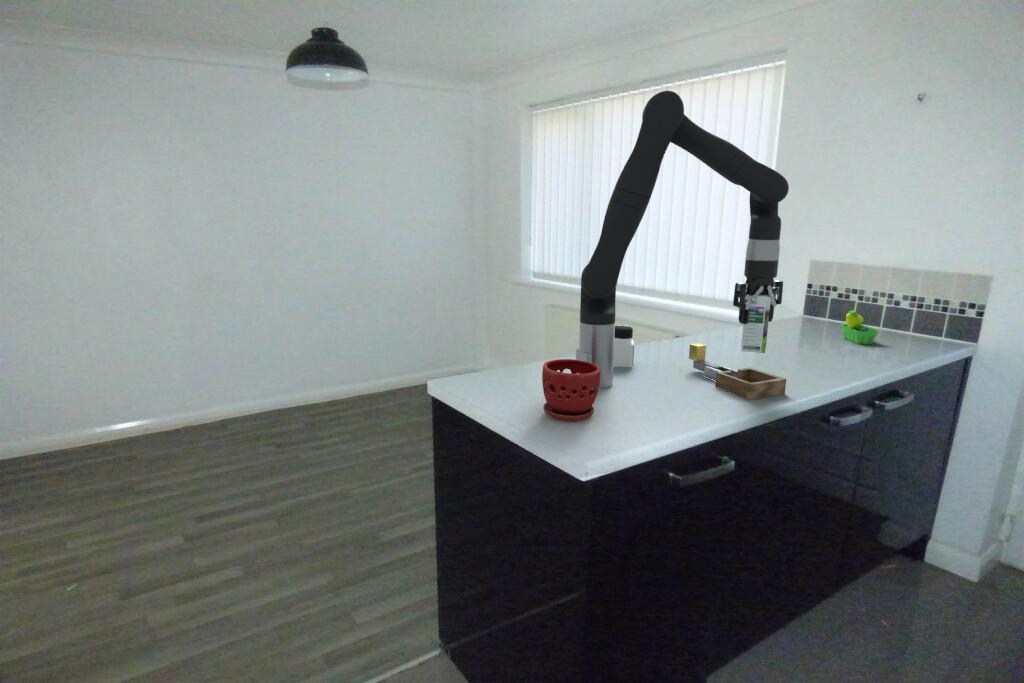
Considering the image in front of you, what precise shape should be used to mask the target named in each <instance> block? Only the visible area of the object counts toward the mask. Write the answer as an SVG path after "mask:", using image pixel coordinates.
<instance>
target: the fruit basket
mask: <svg viewBox="0 0 1024 683" xmlns="http://www.w3.org/2000/svg"><path fill="white" fill-rule="evenodd" d="M863 322H864V317H863V316H861V315H860V314H858V312H857V311H856V310H849V311H848V313H846V315H845V323H843V324H842V323H841V324H840V326H841V329H842V338H843V339H845V340H847V341H850V342H852V343H855V344H857V345H861V344H862V345H872V344H873V343H874V341H875V339H876V337H877V334H878V333H879V330H877V329H875V328H872V327H870V326H868V325H863Z"/></svg>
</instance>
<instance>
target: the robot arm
mask: <svg viewBox="0 0 1024 683" xmlns="http://www.w3.org/2000/svg"><path fill="white" fill-rule="evenodd" d="M641 117H642V118H641V119H642V120H641V121H642V122H641V125H640V129H639V133H638V135H637V139H636V141H635V144H634V147H633V150H632V151H631V153H630V155H629V157H628V159H627V161H626V163H625V164H624V167H623V168H622V170H621V172H620V175H619V177H618V178H617V181H616V183H615V186H614V188H613V191H612V193H611V196H610V199H609V201H608V204H607V208H606V211H605V215H604V218H603V223H602V227H601V232H600V236H599V239H598V243H597V245H596V247H595V249H594V251H593V254H592V256H591V258H590V260H589V262H588V263H587V265H585V267H584V268H583V270H582V272H581V275H580V276H581V277H580V279H581V280H580V304H579V305H580V308H579V309H580V310H579V341H578V342H579V347H578V348H576V350H575V360H581V361H586V362H590V363H593V364H596V365H597V366H599V367H600V369H601V376H600V385H599V390H600V389H607V388H610V387H612V386H613V384H614V383H613V381H614V367H613V360H614V335H615V326H616V298H617V297H616V296H617V295H616V294H617V285H618V281H619V276H620V273H621V269H622V265H623V262H624V259H625V256H626V253H627V251H628V248H629V246H630V243H632V240H633V238H634V237H635V234H636V232H637V231H638V228H639V227H640V224H641V222H642V220H643V218H644V215H645V213H646V210H647V208H648V205H649V203H650V200H651V198H652V194H653V192H654V189H655V186H656V183H657V180H658V176H659V173H660V168H661V165H662V162H663V160H664V157H665V154H666V152H667V150H668V148H669V146H670V143H672V144H673V145H675V146H677V147H679V148H681V149H682V150H684V151H686V152H687V153H689V154H691V156H693V157H695V158H696V159H698V160H699V161H700V162H702V163H703V164H705V165H706V166H707V167H709V168H710V169H711V170H713V171H714V172H716V173H717V174H719V175H720V176H721V177H723V178H724V179H726V180H727V181H728V182H730V183H732V184H734V185H736V186H740V187H742V188H744V189H745V190H746V191H748V192H749V215H750V216H749V217H750V224H749V230H748V231H749V233H748V241H747V246H746V252H745V262H744V270H743V271H744V272H743V275H744V277H745V279H746V280H745V282H744V283H743V282H735V284H734V290H733V291H734V292H733V301H732V306H733V307H736V308H738V322H739V324H741V325H743V324H748V317H749V310H748V309H749V307H750V306H751V304H752V303H754V302H755V300H756V299H757V297H758V296H759V295H770V296H771V302H770V312H769V321H768V323H770V322H771V323H772V321H773V319H774V314H775V313H774V312H775V308H776V306H777V305H781V304H782V301H783V290H784V289H783V288H784V281H783V280H775V278H777V276H778V270H779V259H780V252H781V251H780V250H781V249H780V248H781V247H780V242H781V241H780V240H781V229H782V219H781V217H780V216H779V203H780V202H782V201H783V200H785V198H786V197H787V195H788V194H789V190H790V187H789V186H790V185H789V183H788V180H787V179H786V178H785V176H783V174H780V173H779V172H778V171H776V170H774V169H773V168H771V167H769V166H767V165H765V164H763V163H761V162H759V161H757V160H756V159H755V158H753V157H751V156H750V155H748V154H747V153H746V152H745V151H743V150H742V149H740V148H739V147H737V145H734V144H733V143H731V142H730V141H728V140H726V139H724V138H722V137H719V136H718V135H715V134H713V133H711V132H710V131H707V130H706V129H704V128H702V127H701V126H699V125H698V124H697V123H696V122H693V121H692V120H691V119H690V118H689V117H688V116H687V115H686V114H685V105H684V102H683V100H682V98H681V96H680V95H679V94H678V93H676V92H675V91H672V90H662V91H659V92H657V93H655V94H654V95H653V96H651V97H650V98H649V100H648V101H647V102H646V104H645V106H644V109H643V111H642V115H641ZM747 294H748V295H752V297H747V298H746V296H747ZM746 300H748V301H747V303H746ZM745 303H746V304H745ZM576 374H579V373H576ZM592 389H594V387H592Z"/></svg>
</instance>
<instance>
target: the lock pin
mask: <svg viewBox="0 0 1024 683" xmlns="http://www.w3.org/2000/svg"><path fill="white" fill-rule="evenodd" d="M688 351H689V352H688V353H689V354H688V359H689V360H692V361H693V364H692V365H693V366H692V368H693V369H695V370H699V371H701V372H704V369H705V366H709V367H712V368H715V369H718V370H721V371H722V370H723V366H724V365H722V366H720V365H721V364H716V363H714V362H712V361H711V362H710V361H707V360H706V351H707V345H706V344H704V343H703V344H702V343H699V342H697V343H689V350H688Z"/></svg>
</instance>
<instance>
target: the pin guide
mask: <svg viewBox="0 0 1024 683" xmlns="http://www.w3.org/2000/svg"><path fill="white" fill-rule="evenodd" d="M719 365H720V366H723V370H722V371H732V376H733V377H736V378H737V373H738V369H733V368H730V367H727V366H724V365H721V364H719ZM722 371H721V370H718V369H715V368H712V367H709V366H705V369H704V371H703V372H704V374H703V377H704V376H705V377H708V378H710V379H713V380H715V381H716V372H722ZM710 379H709V380H710ZM713 380H712V381H713ZM715 381H714V382H715Z"/></svg>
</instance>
